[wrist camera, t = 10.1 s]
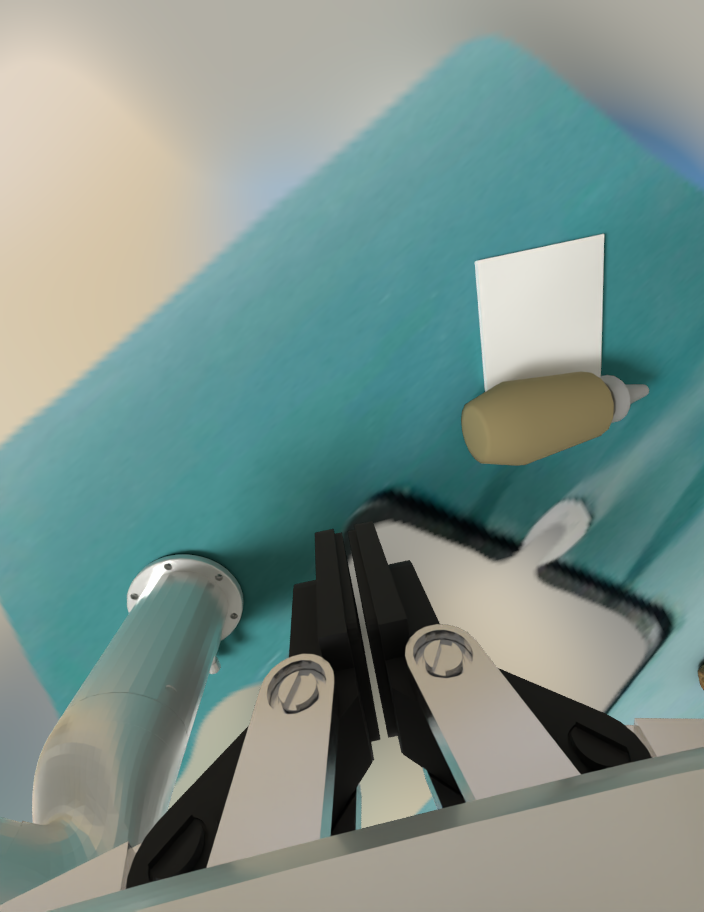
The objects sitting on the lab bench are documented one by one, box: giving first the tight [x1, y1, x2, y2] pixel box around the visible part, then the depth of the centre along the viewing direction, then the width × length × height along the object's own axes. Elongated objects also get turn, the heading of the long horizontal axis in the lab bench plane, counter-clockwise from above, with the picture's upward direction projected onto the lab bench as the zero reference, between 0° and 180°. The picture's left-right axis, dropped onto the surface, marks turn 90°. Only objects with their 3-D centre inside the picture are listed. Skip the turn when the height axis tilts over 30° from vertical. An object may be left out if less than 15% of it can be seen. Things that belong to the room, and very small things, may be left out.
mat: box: [475, 234, 604, 392], centre depth 38 cm, size 18×12×1 cm, turn 11°
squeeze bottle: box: [461, 371, 649, 466], centre depth 36 cm, size 8×8×18 cm
